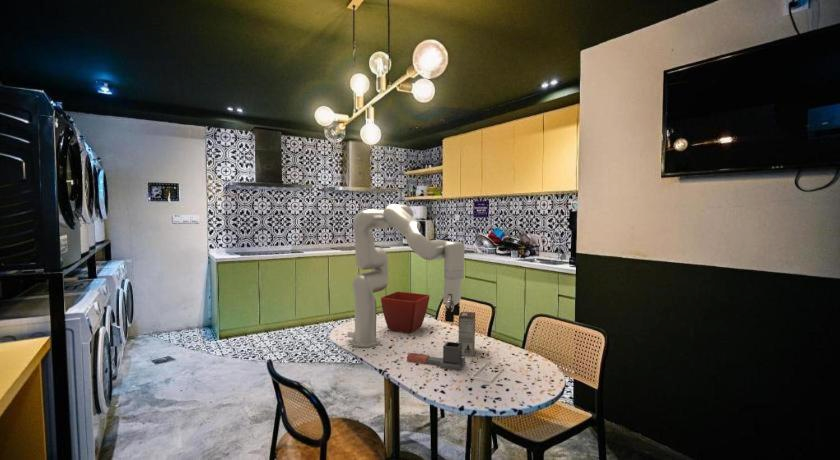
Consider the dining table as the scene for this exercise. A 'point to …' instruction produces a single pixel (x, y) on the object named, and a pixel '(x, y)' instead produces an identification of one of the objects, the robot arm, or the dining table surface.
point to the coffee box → (467, 332)
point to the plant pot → (404, 311)
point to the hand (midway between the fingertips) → (452, 318)
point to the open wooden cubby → (452, 352)
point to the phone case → (486, 379)
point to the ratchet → (434, 361)
